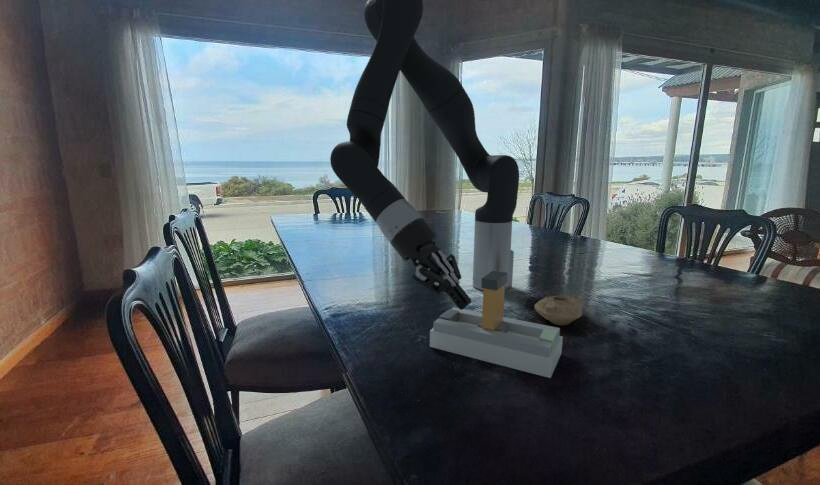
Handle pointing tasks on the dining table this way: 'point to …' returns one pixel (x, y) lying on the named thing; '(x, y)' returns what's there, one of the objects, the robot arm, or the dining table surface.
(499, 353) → the base
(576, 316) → the pottery oil lamp
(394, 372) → the dining table surface
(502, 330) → the breaker lever
